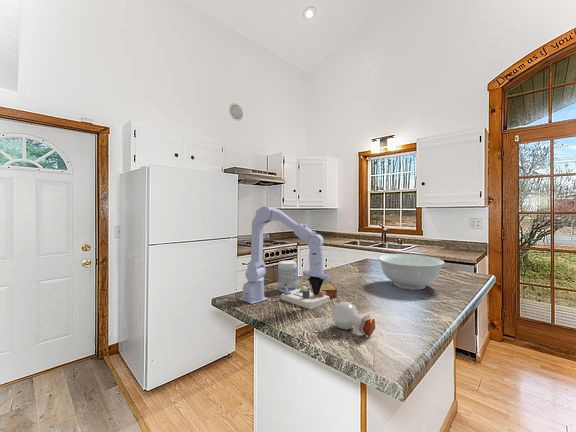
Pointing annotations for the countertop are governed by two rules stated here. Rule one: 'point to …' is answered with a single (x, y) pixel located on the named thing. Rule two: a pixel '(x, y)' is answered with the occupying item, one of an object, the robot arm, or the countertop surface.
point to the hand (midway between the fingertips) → (316, 294)
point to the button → (302, 288)
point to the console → (305, 299)
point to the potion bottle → (352, 318)
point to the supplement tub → (287, 275)
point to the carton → (329, 289)
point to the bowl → (411, 270)
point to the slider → (306, 293)
